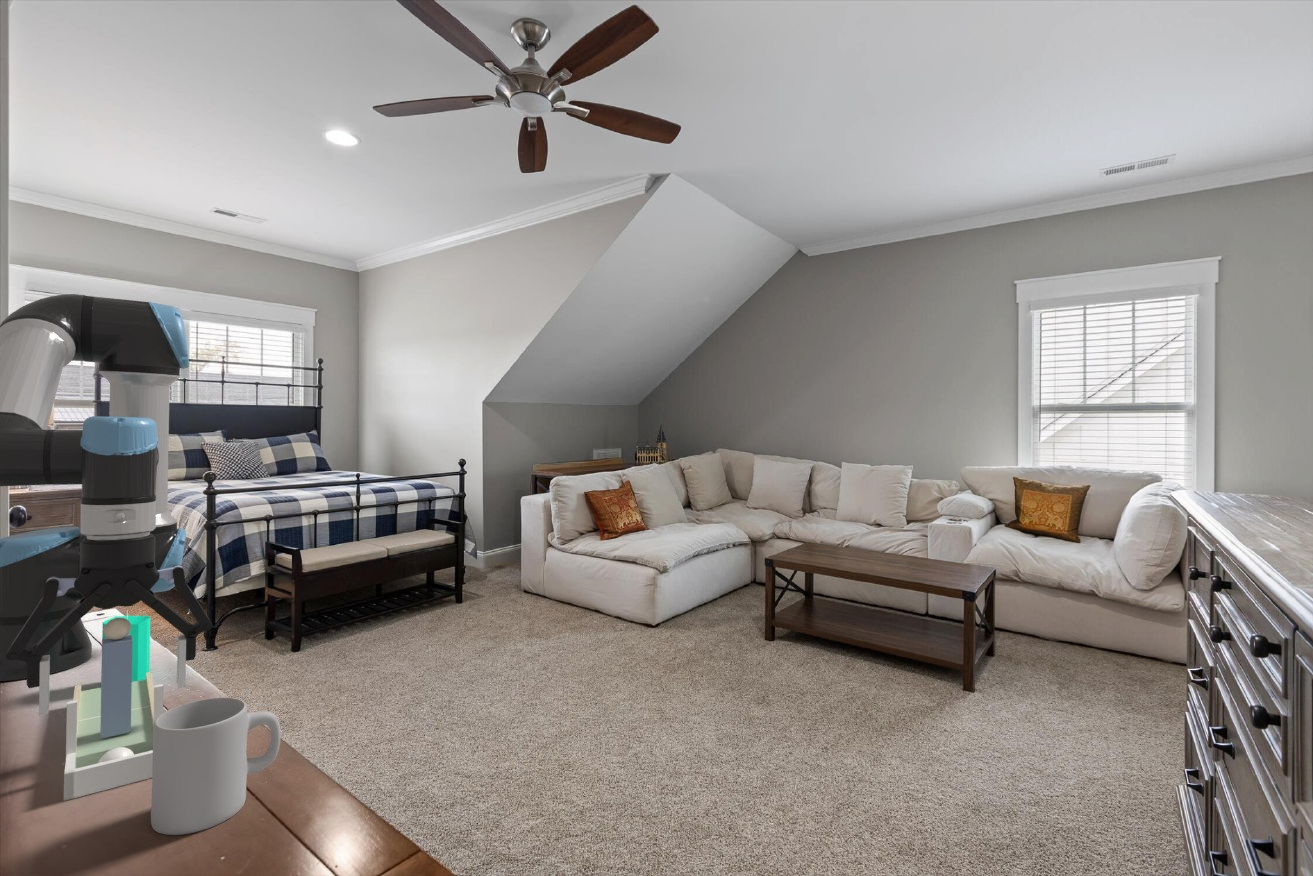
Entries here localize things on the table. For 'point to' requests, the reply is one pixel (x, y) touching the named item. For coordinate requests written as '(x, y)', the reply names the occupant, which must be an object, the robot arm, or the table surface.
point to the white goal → (104, 772)
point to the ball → (116, 754)
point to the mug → (204, 763)
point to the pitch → (136, 740)
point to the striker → (116, 678)
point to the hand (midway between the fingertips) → (116, 697)
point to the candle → (138, 644)
